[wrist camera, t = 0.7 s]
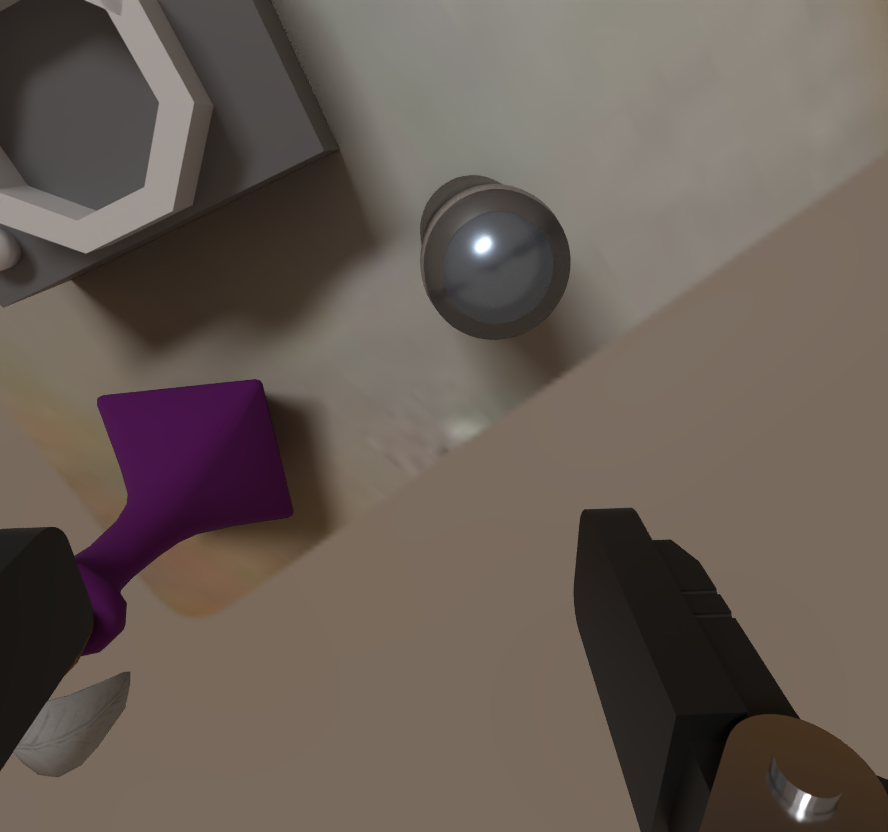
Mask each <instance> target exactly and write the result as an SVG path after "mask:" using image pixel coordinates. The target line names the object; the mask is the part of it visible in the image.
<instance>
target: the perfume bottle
mask: <svg viewBox="0 0 888 832" xmlns="http://www.w3.org/2000/svg"><path fill="white" fill-rule="evenodd" d="M97 406H98V408H99V411H100V414H101V417H102V419H103V422H104V425H105V428H106V430H107V433H108V436H109V438H110V441H111V444H112V447H113V449H114V452H115V455H116V458H117V460H118V463H119V466H120V468H121V472H122V475H123V479H124V482H125V486H126V489H127V493H128V497H127V504H126V506H125V508H124V509H123V511H122V513H121V514H120V516H119V518H118V519H117V521H116V522H115V523H114V524H113V525H112V526H111V527H110V528H108V529H107V530H106V531H105V532H104V533H103V534H102V535H101V536H100V537H99V538H98V539H97V540H96V541H95V542H94V543H93V544H92V545H91V546H89V547H88V548H87V549H85V550H83V551H82V552H80V553H78V554H77V555H75V556H74V557H75V560H76V562H77V565H78V568H79V571H80V573H81V576H82V579H83V581H84V584H85V587H86V589H87V592H88V595H89V597H90V600H91V603H92V609H93V621H92V627H91V631H90V634H89V637H88V639H87V642H86V644H85V645H84V647H83V649H82V650H81V651H80V653H79V654H78V656H77V657H76V659H75V660H74V662H73V663H72V665H71V666H70V668H69V669H68V671H67V672H66V674H67V673H68V672H69V671H70V670H71V669H72V668H73V667H74V665H75V664H76V663H77V662H78V660H79V658H80V656H84V655H89V654H93V653H98V652H100V651H102V650H103V649H104V648H105V647H106V646H107V645H108V644H109V643H110V642H111V641H112V640H113V639H115V638H116V636H117V635H119V633H121V632H122V631H123V629H124V627H125V623H126V607H127V603H126V601H125V600H124V598H123V597H122V595H121V594H120V592H121V589H122V588H123V587H124V586H125V585H126V584H127V583H128V582H129V581H130V580H131V579H132V578H133V577H134V576H135V575H136V574H138V573H139V572H140V571H141V570H143V569H144V568H145V567H146V566H148V565H149V564H150V563H151V562H152V561H154V560H155V559H156V558H157V557H159V556H160V555H161V554H163V553H164V552H166V551H167V550H169V549H170V548H172V547H173V546H174V545H176V544H177V543H179V542H181V541H183V540H185V539H187V538H190V537H192V536H194V535H196V534H200V533H204V532H209V531H213V530H217V529H222V528H226V527H230V526H236V525H243V524H249V523H256V522H263V521H269V520H276V519H283V518H288V517H290V516H292V515H293V507H292V503H291V499H290V495H289V491H288V487H287V482H286V478H285V474H284V470H283V466H282V462H281V458H280V454H279V450H278V446H277V441H276V437H275V433H274V429H273V425H272V421H271V417H270V413H269V409H268V405H267V400H266V396H265V392H264V388H263V384H262V383H261V381H260V380H256V379H253V380H244V381H234V382H225V383H215V384H206V385H196V386H187V387H177V388H168V389H158V390H149V391H139V392H130V393H120V394H111V395H103V396H100V397H99V398H98V399H97ZM66 674H65V675H66ZM65 675H64V676H65ZM129 686H130V672H123V673H120V674H118V675H116V676H114V677H111V678H109V679H107V680H104V681H102V682H100V683H97V684H95V685H92V686H90V687H88V688H85V689H83V690H80V691H78V692H75V693H73V694H71V695H68V696H64V697H60V698H56V699H53V700H49V701H47V702H46V704H45V705H44V707H43V708H42V710H41V711H40V713H39V714H38V716H37V717H36V719H35V720H34V722H33V723H32V725H31V726H30V728H29V729H28V731H27V732H26V734H25V735H24V736H23V738H22V739H21V741H20V742H19V744H18V745H17V747H16V748H15V750H14V751H13V753H14V754H15V755H16V756H17V757H18V759H20V761H21V762H22V763H23V764H25V765H26V766H27V767H29V768H30V769H32V770H33V771H34V772H36V773H37V774H38V775H44V776H52V777H60V776H62V775H64V774H66V773H67V772H69V771H71V770H73V769H75V768H77V767H79V766H81V765H82V764H83V763H84V761H85V760H86V759H87V758H88V757H89V756H90V755H91V754H92V753H93V752H94V750H95V749H96V748H97V747H98V746H99V744H100V743H101V742H102V740H103V739H104V737H105V736H106V734H107V733H108V732H109V730H110V729H111V727H112V726H113V725H114V723H115V722H116V720H117V719H118V717H119V716H120V715H121V713H122V712H123V710H124V709H125V706H126V701H127V696H128V691H129Z"/></svg>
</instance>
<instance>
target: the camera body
mask: <svg viewBox="0 0 888 832" xmlns="http://www.w3.org/2000/svg"><path fill="white" fill-rule="evenodd" d="M337 150H339V147H338V145H337V143H336V140H335V138H334V136H333V134H332V132H331V130H330V128H329V125H328V123H327V121H326V119H325V117H324V115H323V112H322V110H321V108H320V106H319V104H318V102H317V100H316V97H315V95H314V93H313V91H312V89H311V87H310V84H309V82H308V80H307V78H306V76H305V74H304V72H303V69H302V67H301V65H300V63H299V61H298V59H297V56H296V54H295V52H294V50H293V48H292V46H291V44H290V41H289V39H288V37H287V35H286V33H285V31H284V28H283V26H282V24H281V22H280V20H279V18H278V16H277V13H276V11H275V9H274V7H273V5H272V3H271V0H0V305H1V306H2V307H3V308H4V307H6V306H9V305H11V304H13V303H16V302H18V301H21V300H23V299H26V298H28V297H31V296H33V295H35V294H38V293H40V292H43V291H45V290H48V289H50V288H53V287H55V286H57V285H60V284H62V283H65V282H67V281H70V280H72V279H74V278H76V277H78V276H80V275H82V274H84V273H86V272H88V271H90V270H92V269H94V268H96V267H99V266H101V265H103V264H105V263H107V262H109V261H111V260H113V259H115V258H117V257H119V256H121V255H123V254H125V253H127V252H129V251H131V250H133V249H136V248H138V247H140V246H142V245H144V244H146V243H148V242H150V241H152V240H154V239H156V238H158V237H160V236H162V235H164V234H166V233H168V232H170V231H172V230H175V229H177V228H179V227H181V226H183V225H185V224H187V223H189V222H191V221H193V220H195V219H197V218H199V217H201V216H203V215H205V214H207V213H209V212H212V211H214V210H216V209H218V208H220V207H222V206H224V205H226V204H228V203H230V202H232V201H234V200H236V199H238V198H240V197H242V196H244V195H246V194H248V193H251V192H253V191H255V190H257V189H259V188H261V187H263V186H265V185H267V184H269V183H271V182H273V181H275V180H277V179H279V178H281V177H283V176H285V175H288V174H290V173H292V172H294V171H296V170H298V169H300V168H302V167H304V166H306V165H308V164H310V163H312V162H314V161H316V160H318V159H320V158H322V157H324V156H327V155H329V154H331V153H333V152H335V151H337Z"/></svg>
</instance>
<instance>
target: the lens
mask: <svg viewBox="0 0 888 832" xmlns="http://www.w3.org/2000/svg"><path fill="white" fill-rule="evenodd" d="M420 235H421V245H422V247H421V257H420V264H421V275H422V280H423V284H424V287H425V290H426V293H427V295H428V297H429V299H430V301H431V303H432V304H433V305H434V307H435V308H436V310H437V311H438V312H439V314H440V315H441V316H442V317H443V318H444V319H445V320H446V321H447V322H448V323H449V324H450V325H452V326H453V327H454V328H456V329H458V330H459V331H461V332H463V333H465V334H467V335H470V336H473V337H477V338H482V339H492V340H497V339H506V338H511V337H515V336H518V335H520V334H523V333H525V332H527V331H529V330H531V329H533V328H534V327H536V326H537V325H539V324H540V323H541V322H542V321H543V320H545V319H546V318H547V317H548V316H549V314H550V313H551V312H552V311H553V310H554V308H555V307H556V306H557V304H558V303H559V301H560V299H561V297H562V296H563V293H564V291H565V288H566V286H567V282H568V278H569V272H570V251H569V245H568V241H567V238H566V235H565V233H564V230H563V228H562V227H561V225H560V223H559V222H558V220H557V218H556V217H555V215H554V214H553V213H552V211H551V210H550V209H549V208H548V207H547V206H546V205H545V204H544V203H543V202H542V201H541V200H539V199H538V198H537V197H535V196H534V195H532V194H530V193H528V192H526V191H524V190H521V189H519V188H516V187H513V186H509V185H504V184H501V183H499V182H497V181H495V180H493V179H490V178H487V177H484V176H477V175H469V176H462V177H458V178H456V179H453V180H451V181H449V182H447V183H445V184H444V185H443V186H441V187H440V188H439V189H438V190H437V191H436V192H435V193H434V194H433V195H432V197H431V198H430V199H429V201H428V203H427V204H426V207H425V209H424V211H423V215H422V218H421V224H420Z"/></svg>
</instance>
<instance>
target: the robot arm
mask: <svg viewBox="0 0 888 832" xmlns="http://www.w3.org/2000/svg"><path fill="white" fill-rule="evenodd" d="M574 606H575V615H576V620H577V625H578V628H579V632H580V635H581V639H582V642H583V645H584V648H585V652H586V655H587V658H588V661H589V665H590V668H591V671H592V674H593V678H594V681H595V684H596V687H597V691H598V694H599V697H600V700H601V704H602V707H603V710H604V713H605V717H606V720H607V723H608V726H609V730H610V733H611V736H612V739H613V742H614V745H615V749H616V752H617V756H618V759H619V762H620V765H621V768H622V772H623V775H624V778H625V782H626V785H627V788H628V791H629V795H630V798H631V801H632V804H633V808H634V811H635V814H636V817H637V821H638V823H639V827H640V830H641V832H888V780H887V779H884V778H882V777H879V776H877V775H876V774H875V773H874V772H873V771H872V769H871V768H870V767H869V766H868V765H867V763H866V762H865V761H864V760H863V759H862V758H861V757H860V756H859V755H858V754H857V753H856V752H855V751H854V750H853V749H851V748H850V747H849V746H848V745H846V744H845V743H844V742H842V741H841V740H840V739H838V738H837V737H835V736H834V735H832V734H830V733H829V732H827V731H825V730H823V729H821V728H820V727H818V726H816V725H814V724H811V723H809V722H806V721H804V720H801V719H800V718H799V716H798V715H797V714H796V712H795V711H794V709H793V708H792V706H791V705H790V703H789V702H788V700H787V698H786V697H785V695H784V694H783V692H782V690H781V689H780V687H779V686H778V684H777V683H776V681H775V679H774V678H773V676H772V675H771V673H770V672H769V670H768V669H767V667H766V665H765V664H764V662H763V661H762V659H761V658H760V656H759V654H758V653H757V651H756V650H755V648H754V647H753V645H752V644H751V642H750V640H749V639H748V637H747V636H746V634H745V633H744V631H743V630H742V628H741V627H740V625H739V623H738V622H737V620H736V619H735V618H732V616H731V611H730V609H729V608H728V606H727V605H726V603H725V601H724V600H723V598H722V597H721V595H720V594H717V591H716V587H715V586H714V584H713V583H712V581H711V579H710V578H709V576H708V575H707V573H706V572H705V570H704V568H703V567H702V565H701V564H700V562H699V561H698V560H696V559H695V558H694V557H692V556H691V555H690V554H689V553H687V552H686V551H685V550H684V549H682V548H681V547H680V546H678V545H677V544H676V543H675V542H673V541H672V540H652V539H651V537H650V535H649V533H648V532H647V530H646V528H645V526H644V525H643V523H642V521H641V519H640V517H639V515H638V514H637V512H636V511H635V510H634V509H633V508H615V509H614V508H613V509H588V510H586V509H585V510H583V512H582V514H581V517H580V524H579V535H578V546H577V557H576V568H575V578H574ZM92 621H93V609H92V603H91V600H90V597H89V595H88V592H87V589H86V587H85V584H84V581H83V579H82V576H81V573H80V571H79V568H78V565H77V562H76V560H75V557H74V554H73V552H72V549H71V546H70V544H69V541H68V539H67V537H66V535H65V534H64V532H63V531H62V530H60V529H59V528H56V527H40V528H12V529H1V530H0V771H1V769H2V768H3V766H4V765H5V763H6V762H7V760H8V759H9V757H10V756H11V754H12V753H13V751H14V750H15V748H16V747H17V745H18V744H19V742H20V741H21V739H22V738H23V736H24V735H25V734H26V732H27V731H28V729H29V728H30V726H31V725H32V723H33V722H34V720H35V719H36V717H37V716H38V714H39V713H40V711H41V710H42V708H43V707H44V705H45V704H46V702H47V701H48V699H49V698H50V696H51V695H52V693H53V692H54V690H55V689H56V687H57V686H58V684H59V682H60V681H61V680H62V678H63V677H64V675H65V674H66V672H67V671H68V669H69V668H70V666H71V665H72V663H73V662H74V660H75V659H76V657H77V656H78V654H79V653H80V651H81V650H82V649H83V647H84V645H85V644H86V642H87V639H88V637H89V634H90V631H91V627H92Z"/></svg>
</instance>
